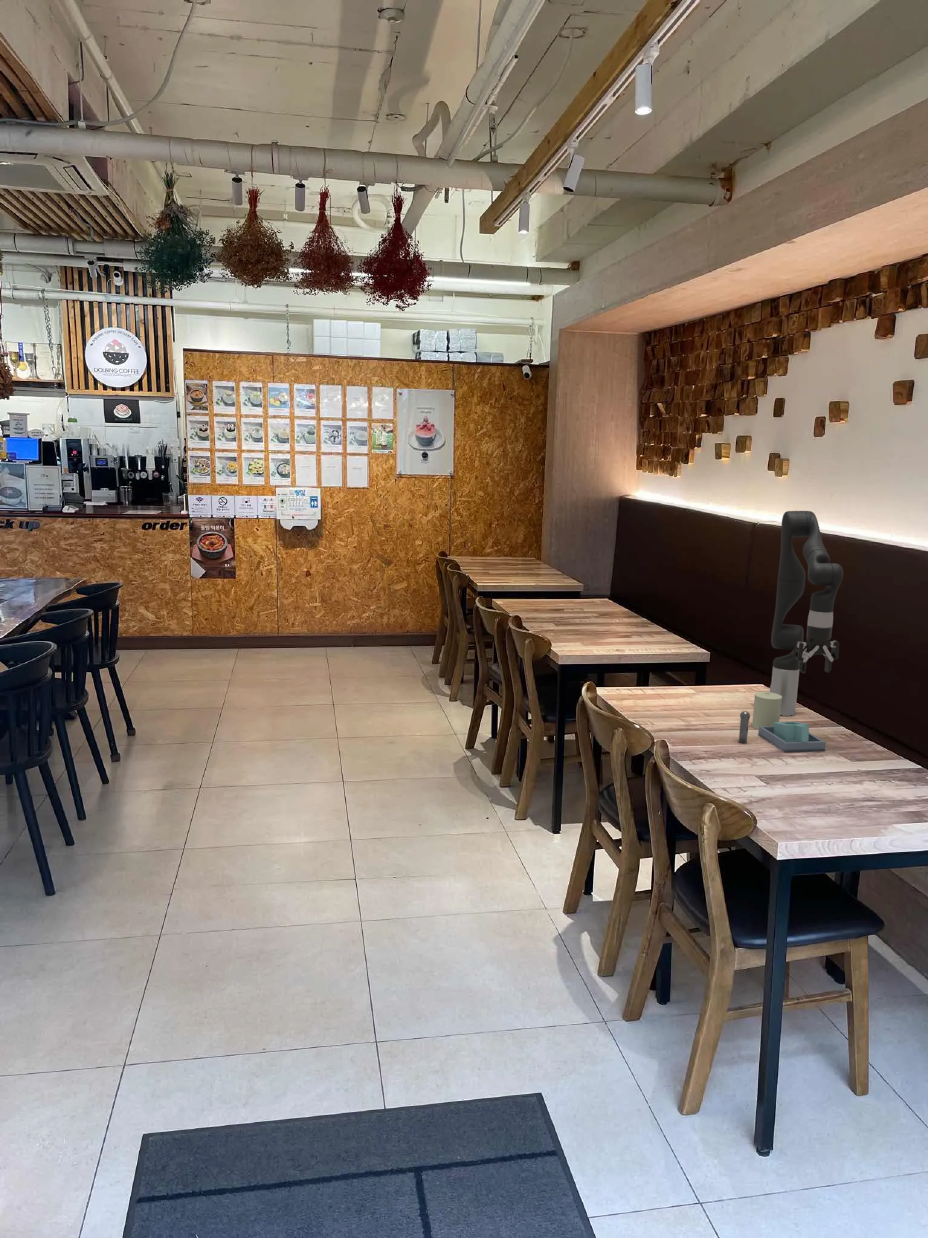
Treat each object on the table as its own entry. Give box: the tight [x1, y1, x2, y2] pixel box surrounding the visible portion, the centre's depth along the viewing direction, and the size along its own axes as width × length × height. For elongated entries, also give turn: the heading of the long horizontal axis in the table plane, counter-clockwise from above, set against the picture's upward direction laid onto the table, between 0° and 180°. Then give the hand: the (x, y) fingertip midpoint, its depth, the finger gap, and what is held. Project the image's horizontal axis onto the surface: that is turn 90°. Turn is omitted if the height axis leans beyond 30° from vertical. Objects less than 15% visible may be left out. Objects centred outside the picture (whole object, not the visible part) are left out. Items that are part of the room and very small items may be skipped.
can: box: [751, 691, 782, 730], centre depth 304 cm, size 9×9×12 cm
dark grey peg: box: [738, 710, 751, 744], centre depth 287 cm, size 3×3×11 cm
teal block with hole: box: [774, 721, 810, 742], centre depth 286 cm, size 12×8×5 cm, turn 9°
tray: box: [757, 726, 827, 753], centre depth 289 cm, size 18×14×3 cm
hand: (814, 672), depth 286 cm, fingers open, 8 cm apart
